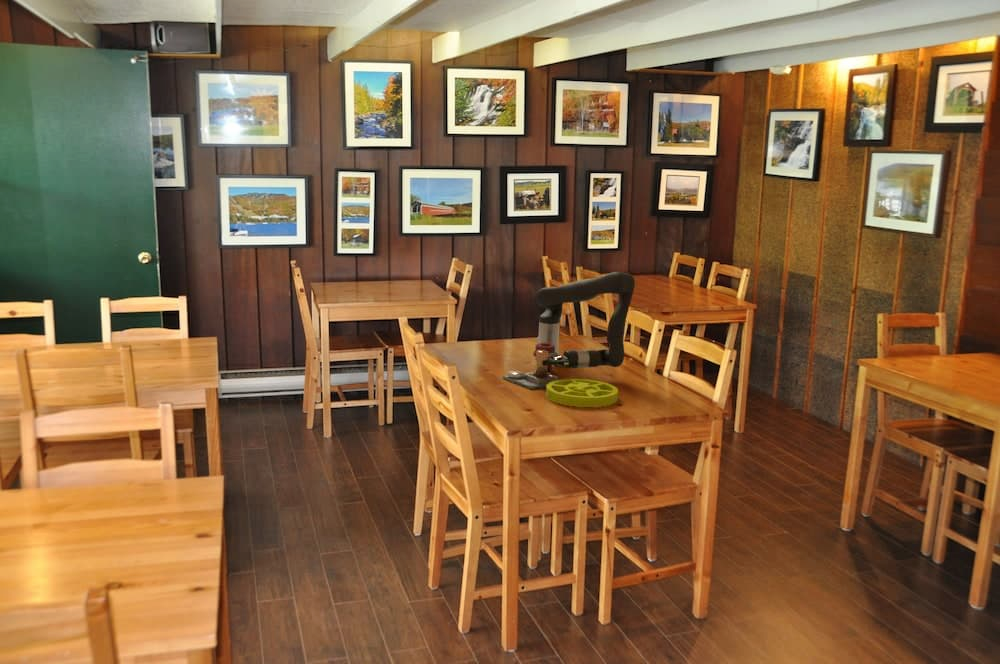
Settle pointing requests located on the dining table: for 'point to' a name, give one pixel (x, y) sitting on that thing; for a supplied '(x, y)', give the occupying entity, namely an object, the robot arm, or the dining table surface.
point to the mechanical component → (546, 347)
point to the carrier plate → (529, 379)
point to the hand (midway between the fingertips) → (539, 360)
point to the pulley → (581, 392)
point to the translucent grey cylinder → (540, 369)
